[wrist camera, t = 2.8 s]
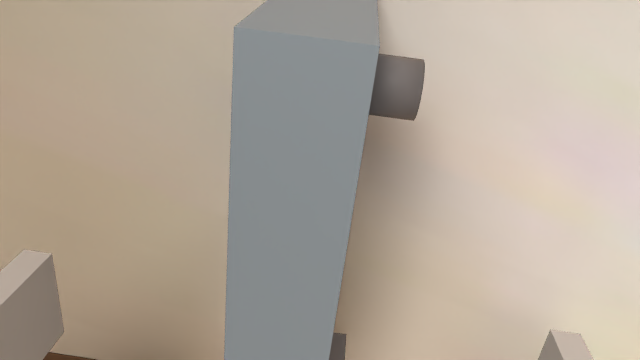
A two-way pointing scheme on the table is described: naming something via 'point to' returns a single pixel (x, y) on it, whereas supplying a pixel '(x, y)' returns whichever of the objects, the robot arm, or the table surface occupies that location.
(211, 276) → the table surface
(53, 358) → the cabinet
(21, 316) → the robot arm
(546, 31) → the table surface
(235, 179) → the door
